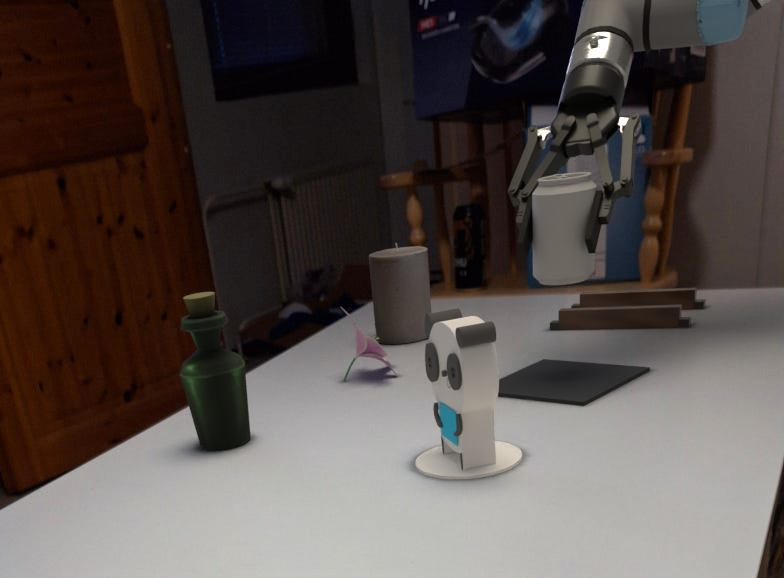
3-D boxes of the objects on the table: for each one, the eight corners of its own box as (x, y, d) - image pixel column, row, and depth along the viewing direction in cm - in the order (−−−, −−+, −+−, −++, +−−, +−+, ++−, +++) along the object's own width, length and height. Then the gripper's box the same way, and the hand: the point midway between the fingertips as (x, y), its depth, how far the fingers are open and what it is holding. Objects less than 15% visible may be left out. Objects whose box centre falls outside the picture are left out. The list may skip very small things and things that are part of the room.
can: (557, 288, 112) (558, 179, 106) (520, 283, 118) (519, 179, 112) (608, 277, 114) (611, 168, 108) (569, 272, 120) (570, 169, 115)
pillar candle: (364, 344, 157) (355, 249, 150) (398, 330, 163) (390, 238, 156) (412, 345, 151) (404, 247, 144) (445, 331, 157) (439, 236, 150)
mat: (650, 371, 121) (650, 367, 120) (583, 406, 112) (583, 402, 111) (543, 362, 131) (543, 358, 131) (475, 394, 122) (474, 390, 122)
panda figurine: (400, 454, 105) (388, 317, 98) (495, 435, 107) (490, 299, 99) (435, 487, 95) (425, 337, 88) (539, 465, 96) (537, 316, 89)
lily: (383, 397, 131) (408, 329, 128) (307, 368, 132) (330, 300, 129) (395, 399, 142) (419, 337, 139) (325, 372, 144) (347, 311, 141)
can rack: (705, 306, 147) (706, 287, 146) (688, 327, 137) (690, 306, 136) (573, 311, 157) (573, 292, 156) (549, 330, 147) (549, 310, 146)
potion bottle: (250, 428, 122) (226, 285, 114) (263, 444, 115) (238, 293, 107) (190, 440, 121) (161, 297, 112) (199, 458, 114) (169, 306, 105)
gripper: (507, 74, 117) (466, 234, 113) (678, 47, 107) (638, 221, 103) (522, 119, 124) (483, 271, 120) (684, 97, 114) (647, 263, 110)
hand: (555, 248), depth 112 cm, fingers closed on can, 7 cm apart
